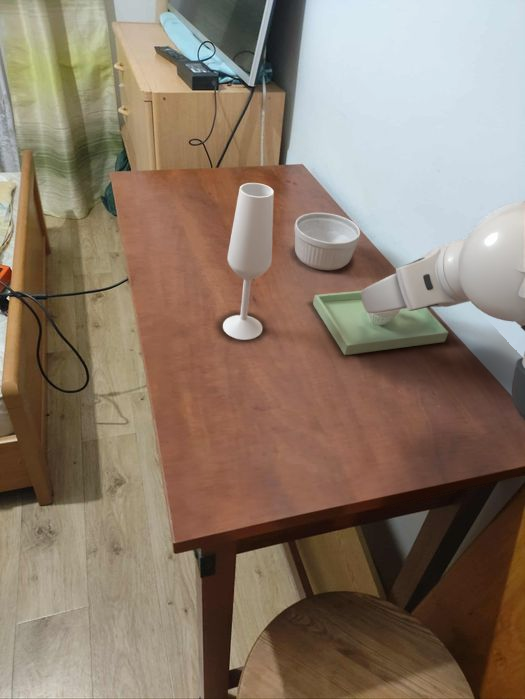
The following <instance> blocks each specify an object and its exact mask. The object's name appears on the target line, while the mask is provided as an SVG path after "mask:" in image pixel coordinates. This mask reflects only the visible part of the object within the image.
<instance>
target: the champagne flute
mask: <svg viewBox="0 0 525 699" xmlns="http://www.w3.org/2000/svg"><path fill="white" fill-rule="evenodd" d="M274 193H275V191H274V189H273V188H272V187H270V186H269V185H266V184H265V183H264V184H263V183H257V182H247V183H246V182H245V183H243V184H242V185H240V186H239V189H238V195H237V200H236V205H235V213H234V219H233V223H232V228H231V235H230V240H229V247H228V251H227V258H226V259H227V263H228V265H229V267H230V268H231V270H232V271H233V272H234V274H236V275H237V276H239V277H240V278H241V279H243V283H242V293H241V294H242V295H241V303H240V314H235V315H231V316H229V317H227V318H226V319H225V320H224V321H223V324H222V329H223V331H224V332H225V333H226V335H228V336H229V337H230V338H231V337H232V338H233V339H236V340H242V341H243V340H245V341H246V340H248V341H249V340H252V339H255V338H257V337H259V336H260V335H261V334H262V333H263V325H262V323H261V322H260V321H259V320H258V319H257V318H255V317H253V316H249V315H248V313H249V305H250V295H251V286H252V281H254V280H256V279H257V278H259V277H262V276H263V275H265V273H266V272H267V271H268V270H269V269H270V267H271V266H272V263H273V262H272V261H273V229H274V228H273V227H274V195H275V194H274Z"/></svg>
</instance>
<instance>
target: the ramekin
mask: <svg viewBox="0 0 525 699" xmlns="http://www.w3.org/2000/svg"><path fill="white" fill-rule="evenodd" d="M293 230H294V250H295V251H294V252H295V255H296V256H297V258H298V260H299V261H300V262H301V263H303V264H304V265H306V266H307V267H309V268H312V269H315V270H320V271H336V270H340V269H342V268H344V267H345V266H346V265H348V264H349V263H350V261H351V260H352V257H353V255H354V252H355V249H356V246H357V244H358V243H359V241H360V238H361V228H360V227H359V226H358V225H357V224H356V223H355V222H354V221H352V220H351V219H349V218H347V217H344V216H341V215H338V214H334V213H328V212H310V213H305V214H303V215H300V216H299V217H297V218H296V221H295V223H294V229H293Z"/></svg>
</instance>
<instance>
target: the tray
mask: <svg viewBox="0 0 525 699" xmlns="http://www.w3.org/2000/svg"><path fill="white" fill-rule="evenodd" d="M361 291H362V290H354V291H344V292H343V291H342V292H333V293H319V294H315V295H314V298H313V302H312V306H313V307H314V309H315V310H316V312H317V313H318V315H319V317H320V318H321V320H322V322H323V323H324V325H325V326H326V328H327V329H328V331H329V332H330V334H331V336H332V337H333V339H334V340H335V342H336V344H337V345H338V347H339V349H340V351H341V352H342V353H343V355H344V356H349V355H356V354H364V353H371V352H377V351H385V350H393V349H400V348H409V347H414V346H415V347H416V346H424V345H430V344H431V345H432V344H439V343H445V342H446V340H447V337H448V335H449V331H448V330H447V328H445V327H444V325H443V324H442V323H441V322H440V320H438V319H437V318H436V316H435V315H434V314H433V313H432V312H431V311H430V310H429V309H428V307H427V308H422V309H418V310H413V311H408V309H407V308H404V309H400V311H399V313H398V314H397V315H396V316H395V317H394V318H393V319H392V320H390V321H389V322H388V323H387V324H385V325H376V324H373V323H372V322H370V320H369V318H368V314H367V312H366V310H365V308H364V306H363V303H362V299H361Z"/></svg>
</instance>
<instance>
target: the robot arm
mask: <svg viewBox="0 0 525 699" xmlns="http://www.w3.org/2000/svg"><path fill="white" fill-rule="evenodd" d="M360 291H361V299H362V303H363V306H364V308H365V310H366V312H367V313H379V312H386V311H393V310H399V309H404V308H407V309H408V311H413V310H418V309H422V308H427V309H428V308H433V307H434V308H439V307H440V308H447V307H453V306H457V305H461V304H463V303H469V302H470V303H471V304H472V305H473V306H475V308H476V309H478V310H479V311H480V312H482V313H484V314H486V315H487V316H489V317H492V318H494V319H497V320H502V321H504V322H511V323H513V322H514V323H515V324H517V325H519V326H520V328H521V329H522V330H523V331H524V332H525V200H519V201H514V202H510V203H508V204H505V205H502V206H499V207H498V208H495V209H494V210H492V211H491V212H489V213H488V214H486V215H485V216H484V217H482V218H481V219H480V220H478V222H477V223H476V224H475V225H474V226H473V227H472V228H471V230H470V231H469V232H468V234H467V236H466V238H459V239H457V240H454V241H451V242H449V243H446V244H444V245H441V246H438V247H436V248H433V249H431V250H429V251H428V252H426V253H425V254H423V255H422V256H420V257H419V258H418V259H416V260H414V261H412V262H409V263H407V264H406V263H405V264H403V265H402V266H399V267H397V268H396V269H395V273H393V274H391V275H388V276H386V277H383V279H381V280H377V281H376V282H373V283H372V284H371V285H368V286H367V287H364V288H363V289H362V290H360ZM513 372H514V373H513V377H512V382H511V403H512V404H513V407H515V409H516V411H517V412H518V414H519V415H520V417H521V418H522V419H523V421H525V351H524V353H523V356H522V357H520V358H518V360H517V361H516V364H515V367H514V371H513Z"/></svg>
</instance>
